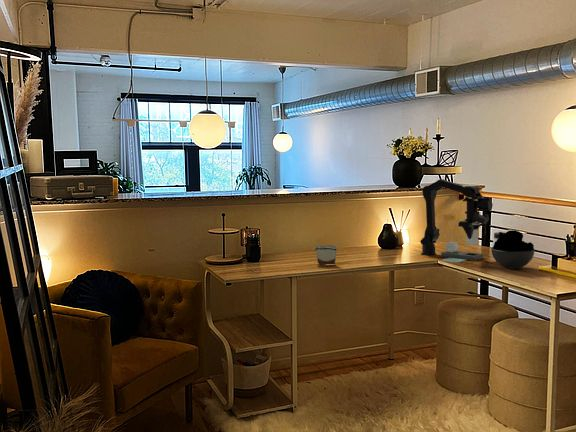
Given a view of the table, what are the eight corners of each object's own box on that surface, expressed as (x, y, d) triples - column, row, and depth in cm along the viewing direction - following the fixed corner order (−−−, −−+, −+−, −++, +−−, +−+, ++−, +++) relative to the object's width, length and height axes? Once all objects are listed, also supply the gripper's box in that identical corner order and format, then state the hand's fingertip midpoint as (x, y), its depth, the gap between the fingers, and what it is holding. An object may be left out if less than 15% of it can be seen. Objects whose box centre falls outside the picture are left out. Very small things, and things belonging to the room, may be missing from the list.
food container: (340, 263, 306) (339, 245, 305) (337, 265, 300) (337, 247, 299) (318, 262, 310) (318, 244, 309) (315, 265, 304) (314, 246, 303)
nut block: (466, 244, 306) (466, 229, 305) (470, 243, 309) (470, 228, 308) (473, 244, 303) (473, 230, 302) (478, 243, 306) (478, 229, 305)
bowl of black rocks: (530, 264, 287) (530, 228, 285) (538, 273, 267) (538, 233, 265) (488, 264, 291) (488, 228, 289) (493, 272, 272) (494, 233, 270)
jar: (502, 256, 312) (503, 234, 310) (490, 254, 318) (490, 233, 317) (512, 254, 317) (513, 233, 315) (500, 252, 323) (500, 231, 322)
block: (446, 256, 316) (446, 242, 315) (450, 255, 319) (450, 241, 318) (453, 257, 313) (453, 243, 312) (457, 256, 316) (457, 242, 315)
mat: (441, 260, 305) (441, 259, 305) (449, 258, 310) (449, 257, 310) (458, 262, 298) (458, 262, 298) (466, 260, 303) (466, 259, 303)
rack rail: (440, 257, 315) (440, 252, 315) (450, 254, 322) (450, 250, 322) (473, 261, 301) (473, 256, 300) (483, 258, 307) (483, 253, 307)
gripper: (477, 212, 292) (477, 241, 294) (494, 208, 305) (494, 237, 306) (457, 211, 300) (457, 240, 302) (475, 208, 313) (475, 235, 314)
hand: (472, 238), depth 306 cm, fingers closed on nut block, 4 cm apart
